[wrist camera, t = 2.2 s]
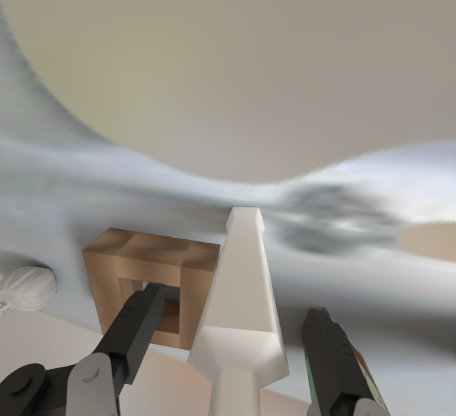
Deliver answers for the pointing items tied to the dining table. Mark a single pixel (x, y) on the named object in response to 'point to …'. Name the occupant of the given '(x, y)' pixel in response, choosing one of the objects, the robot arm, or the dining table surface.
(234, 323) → the white faceted vase
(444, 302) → the dining table surface
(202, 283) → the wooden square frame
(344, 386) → the robot arm
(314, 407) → the food container
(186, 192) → the dining table surface
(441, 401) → the dining table surface
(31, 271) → the garlic
